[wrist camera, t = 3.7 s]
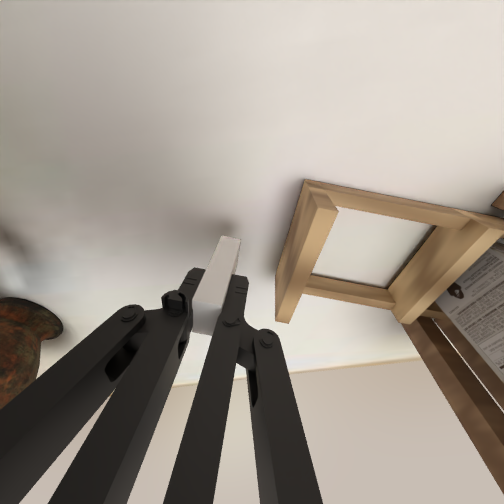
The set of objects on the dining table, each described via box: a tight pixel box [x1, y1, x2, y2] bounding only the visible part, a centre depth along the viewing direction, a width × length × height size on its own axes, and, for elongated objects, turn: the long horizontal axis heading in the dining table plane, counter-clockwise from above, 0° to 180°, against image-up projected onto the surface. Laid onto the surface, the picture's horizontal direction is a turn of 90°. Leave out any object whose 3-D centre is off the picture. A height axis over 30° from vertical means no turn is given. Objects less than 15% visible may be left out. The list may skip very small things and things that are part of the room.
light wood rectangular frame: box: [275, 179, 504, 324], centre depth 17 cm, size 11×26×6 cm, turn 81°
